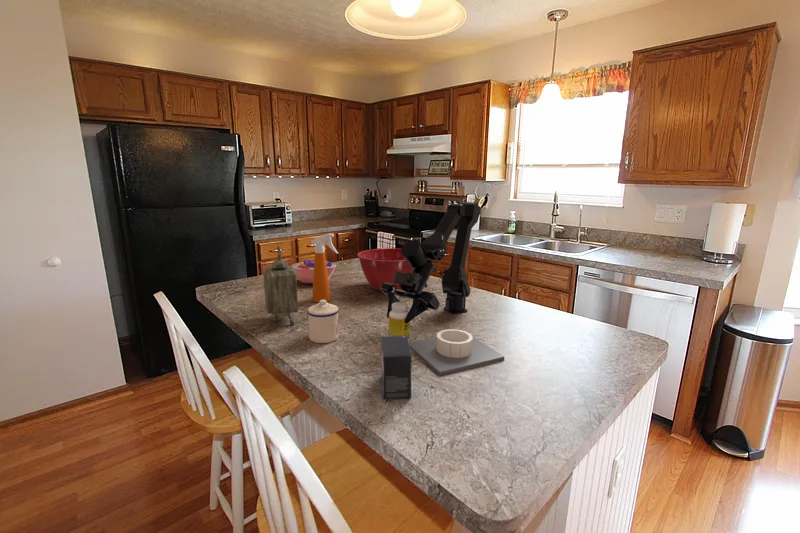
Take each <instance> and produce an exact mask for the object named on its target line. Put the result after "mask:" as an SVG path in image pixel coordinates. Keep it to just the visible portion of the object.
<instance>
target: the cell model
mask: <svg viewBox="0 0 800 533" xmlns="http://www.w3.org/2000/svg"><path fill="white" fill-rule="evenodd" d="M314 261H315V260H311V259H308V260H306V259H304V260H303V261H302V262H296V263H293V264H291V265H292V266H293V268H294V270H295V272H296V279H298V281H300V282H301V283H303V284H311V285H313V277H314ZM326 266H327V274H328V280H330V278H331V276H332V275H333V273H334V272H335V269H336V267H337V263H335V262H331V261H328V260H326Z"/></svg>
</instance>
